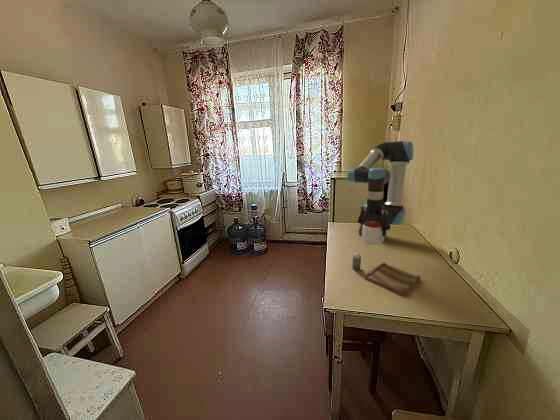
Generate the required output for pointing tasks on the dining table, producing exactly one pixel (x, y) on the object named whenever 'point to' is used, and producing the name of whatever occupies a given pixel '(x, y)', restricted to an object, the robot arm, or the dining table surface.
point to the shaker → (356, 261)
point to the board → (392, 278)
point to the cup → (371, 233)
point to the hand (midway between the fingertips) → (372, 238)
